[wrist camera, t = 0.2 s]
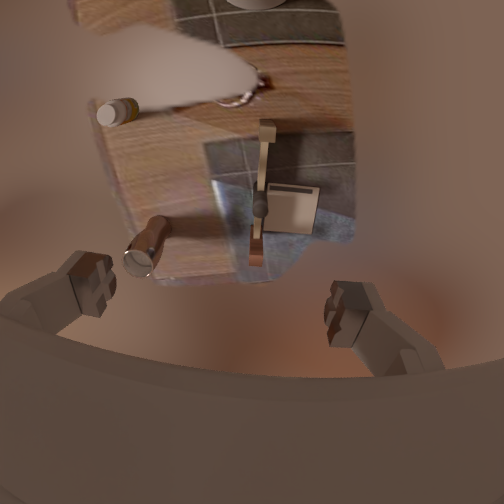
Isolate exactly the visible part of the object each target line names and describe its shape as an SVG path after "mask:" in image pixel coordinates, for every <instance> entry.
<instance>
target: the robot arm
mask: <svg viewBox="0 0 504 504" xmlns="http://www.w3.org/2000/svg"><path fill="white" fill-rule="evenodd" d="M227 1H228V2H230V3H231V4H233V5H235V6H237V7H240V8H243V9H248V10H265V9H270V8H273V7H276V6H278V5H280V4H282V3H283V2H285V1H286V0H227ZM112 266H113V261H112V258H111V256H109V255H106V254H99V253H93V252H87V251H75V252H74V253H73V254H72V255H71V256H70V257H69V258H68V259H67V261H66V262H65V263H64V264H63V265H62V266H61V267H60V268H59V269H58V270H57V272H52V273H49V274H47V275H45V276H43V277H41V278H38V279H37V280H34V281H32V282H30V283H28V284H26V285H24V286H21V287H19V288H17V289H15V290H13V291H11V292H9V293H8V294H6V296H5V297H4V298H3V299H2V300H1V301H0V504H504V358H503V359H499V360H495V361H490V362H486V363H481V364H476V365H471V366H465V367H459V368H454V369H447V370H446V369H445V367H444V365H443V362H442V360H441V358H440V356H439V354H438V351H437V349H436V347H435V346H434V345H432V344H431V343H430V342H429V341H427V340H426V339H425V338H424V337H422V336H421V335H420V334H419V333H417V332H416V331H415V330H414V329H412V328H411V327H410V326H408V325H407V324H406V323H405V322H403V321H402V320H401V319H399V318H398V317H397V316H395V315H394V314H393V313H392V312H390V311H386V308H385V306H384V304H383V302H382V300H381V298H380V295H379V294H378V291H377V289H376V287H375V285H374V284H373V283H370V282H348V281H335V280H334V281H333V283H332V285H331V288H330V292H331V296H330V297H329V298H328V299H327V300H326V303H325V308H324V322H325V325H327V326H328V327H329V329H328V331H327V337H328V341H329V346H330V347H341V348H352V350H353V351H354V353H355V354H356V355H357V356H358V357H359V358H360V360H361V361H362V362H363V363H364V364H365V366H366V367H367V368H368V369H369V370H370V372H371V373H372V374H373V375H374V376H375V377H356V378H355V377H354V378H302V377H280V376H265V375H252V374H242V373H232V372H223V371H215V370H207V369H200V368H193V367H187V366H181V365H174V364H169V363H164V362H158V361H153V360H148V359H144V358H139V357H134V356H130V355H125V354H121V353H117V352H113V351H109V350H105V349H101V348H98V347H94V346H90V345H87V344H83V343H80V342H77V341H73V340H70V339H66V338H64V337H60V336H58V335H55V334H57V333H58V332H59V331H61V330H62V329H63V328H65V327H66V326H68V325H69V324H70V323H72V322H73V321H74V320H76V319H77V318H79V317H80V316H81V315H82V314H84V315H88V316H93V317H98V318H100V317H101V315H102V314H103V312H104V310H105V309H106V307H107V305H106V301H108V300H110V299H111V298H112V297H113V295H114V294H115V290H116V276H115V274H114V273H113V271H112V270H111V268H112Z"/></svg>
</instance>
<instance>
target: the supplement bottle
mask: <svg viewBox="0 0 504 504" xmlns="http://www.w3.org/2000/svg"><path fill="white" fill-rule="evenodd" d="M138 113H139V106H138V103H137V102H136V101H135V100H134V99H132V98H121V99H114V100H110V101H108V102H107V103H106V104H105V105H103V106H101V107H100V108H99V110H98V112H97V120H98V122H99V123H100V124H101V125H104V126H109V127H116V126H119V125H122V124H125V123H128V122H131V121H133V120H134V119H135V118H136V117H137V115H138Z"/></svg>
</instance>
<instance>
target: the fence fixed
mask: <svg viewBox="0 0 504 504" xmlns="http://www.w3.org/2000/svg"><path fill="white" fill-rule="evenodd" d="M275 137H276V126H275V124H274V123H273V121H272V120H266V119H259V142H261V144H260V156H259V168H258V180H257V182H255V183H254V187H253V215H254V216H255V217H257V218H265V217H266V216H267V215H268V200H267V189H266V184H265V175H266V165H267V154H268V143H269V142H271V143H275Z"/></svg>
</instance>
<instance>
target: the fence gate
mask: <svg viewBox="0 0 504 504" xmlns="http://www.w3.org/2000/svg"><path fill="white" fill-rule="evenodd" d="M261 219H262V218H257V217H255V216H254V225H251V231H250V251H249V266H259V267H262V261H263V237H262V225H261Z"/></svg>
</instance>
